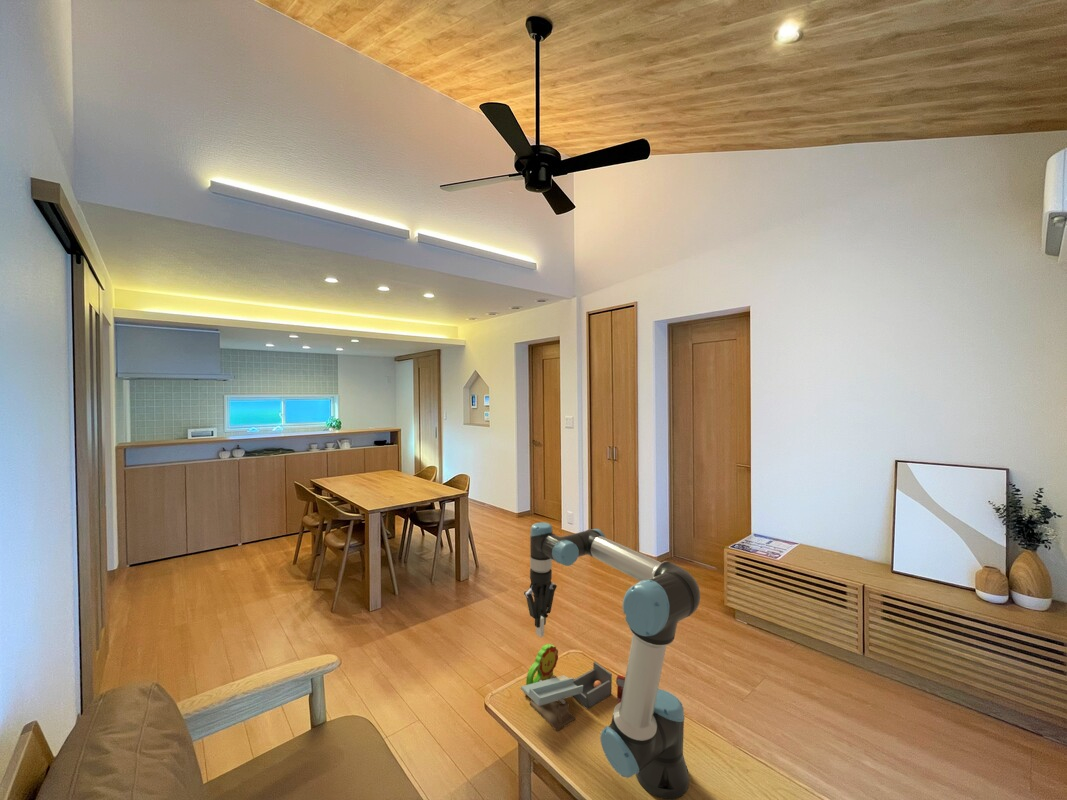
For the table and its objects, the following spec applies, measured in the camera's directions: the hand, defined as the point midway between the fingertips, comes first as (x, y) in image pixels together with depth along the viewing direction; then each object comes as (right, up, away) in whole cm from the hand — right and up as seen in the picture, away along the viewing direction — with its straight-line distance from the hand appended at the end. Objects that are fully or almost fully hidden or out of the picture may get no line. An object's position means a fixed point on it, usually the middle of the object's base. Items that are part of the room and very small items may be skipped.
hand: (540, 634), depth 152 cm
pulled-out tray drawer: (+19, -26, +8) cm, 33 cm away
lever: (+4, -20, -1) cm, 20 cm away
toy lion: (+1, -26, +11) cm, 29 cm away
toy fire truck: (+33, -27, +1) cm, 43 cm away
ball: (+22, -24, +10) cm, 34 cm away
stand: (+4, -26, -1) cm, 27 cm away
